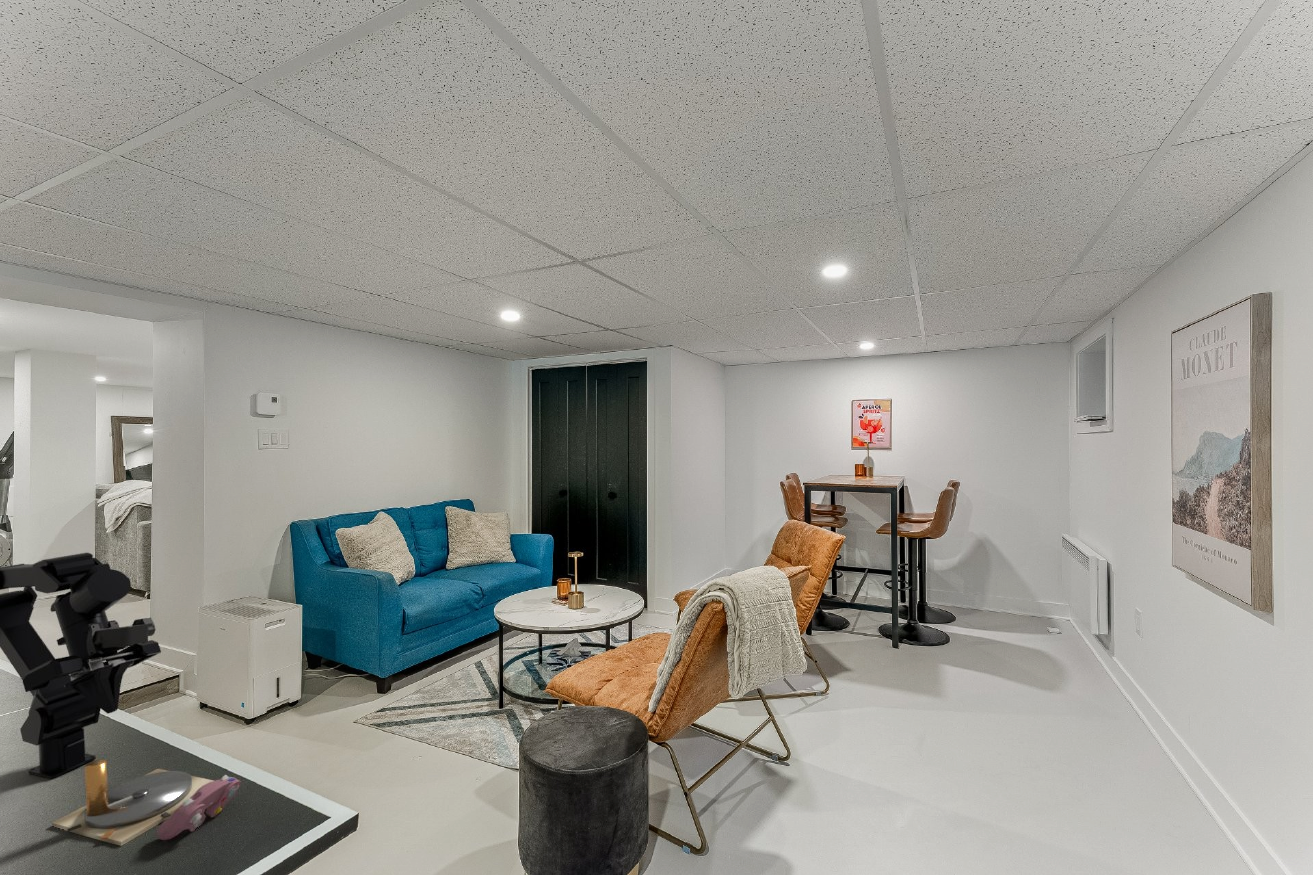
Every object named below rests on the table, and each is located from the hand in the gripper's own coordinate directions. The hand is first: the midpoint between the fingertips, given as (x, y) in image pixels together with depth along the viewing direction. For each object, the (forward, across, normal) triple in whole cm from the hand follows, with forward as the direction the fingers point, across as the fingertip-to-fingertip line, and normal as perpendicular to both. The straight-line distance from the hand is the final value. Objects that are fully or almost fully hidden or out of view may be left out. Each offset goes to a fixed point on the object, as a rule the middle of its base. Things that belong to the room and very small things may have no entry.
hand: (112, 711), depth 100 cm
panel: (+16, -2, -2) cm, 16 cm away
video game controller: (+22, -6, -13) cm, 27 cm away
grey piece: (+16, -2, -2) cm, 16 cm away
